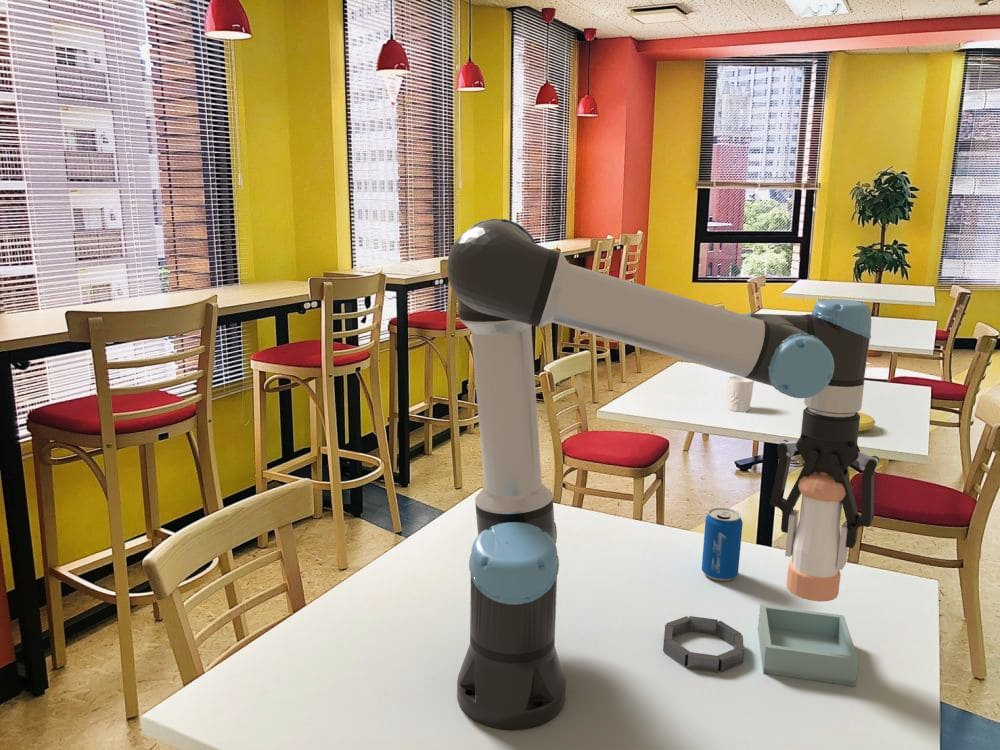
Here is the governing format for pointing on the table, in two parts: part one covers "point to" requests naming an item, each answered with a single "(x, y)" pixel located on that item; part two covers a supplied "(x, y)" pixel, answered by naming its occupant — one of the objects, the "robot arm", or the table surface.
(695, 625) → the collar
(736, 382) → the white cup
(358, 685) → the table surface
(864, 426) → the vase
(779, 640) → the bin
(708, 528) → the beverage can
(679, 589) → the table surface
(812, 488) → the salt shaker
